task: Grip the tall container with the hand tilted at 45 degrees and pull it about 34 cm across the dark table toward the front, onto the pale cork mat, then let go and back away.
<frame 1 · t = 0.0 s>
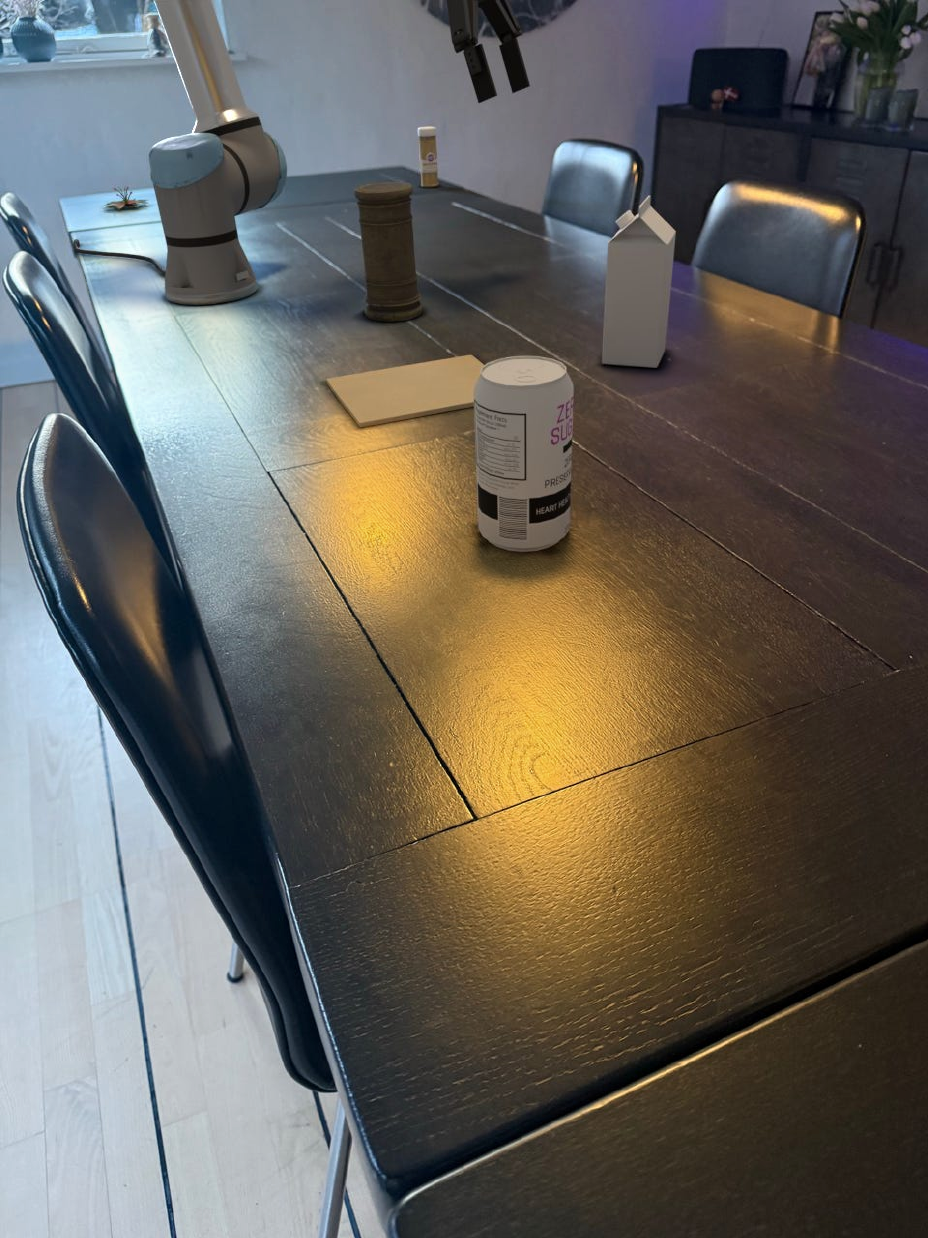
hand: (505, 94, 130), 28 cm above the table, tool tilted 20°, fingers open, 13 cm apart
mat: (420, 390, 111), on the table
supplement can: (524, 534, 81), on the table
container: (394, 314, 139), on the table
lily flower: (127, 207, 223), on the table
milk carton: (633, 359, 118), on the table
sprinkles bottle: (430, 187, 230), on the table
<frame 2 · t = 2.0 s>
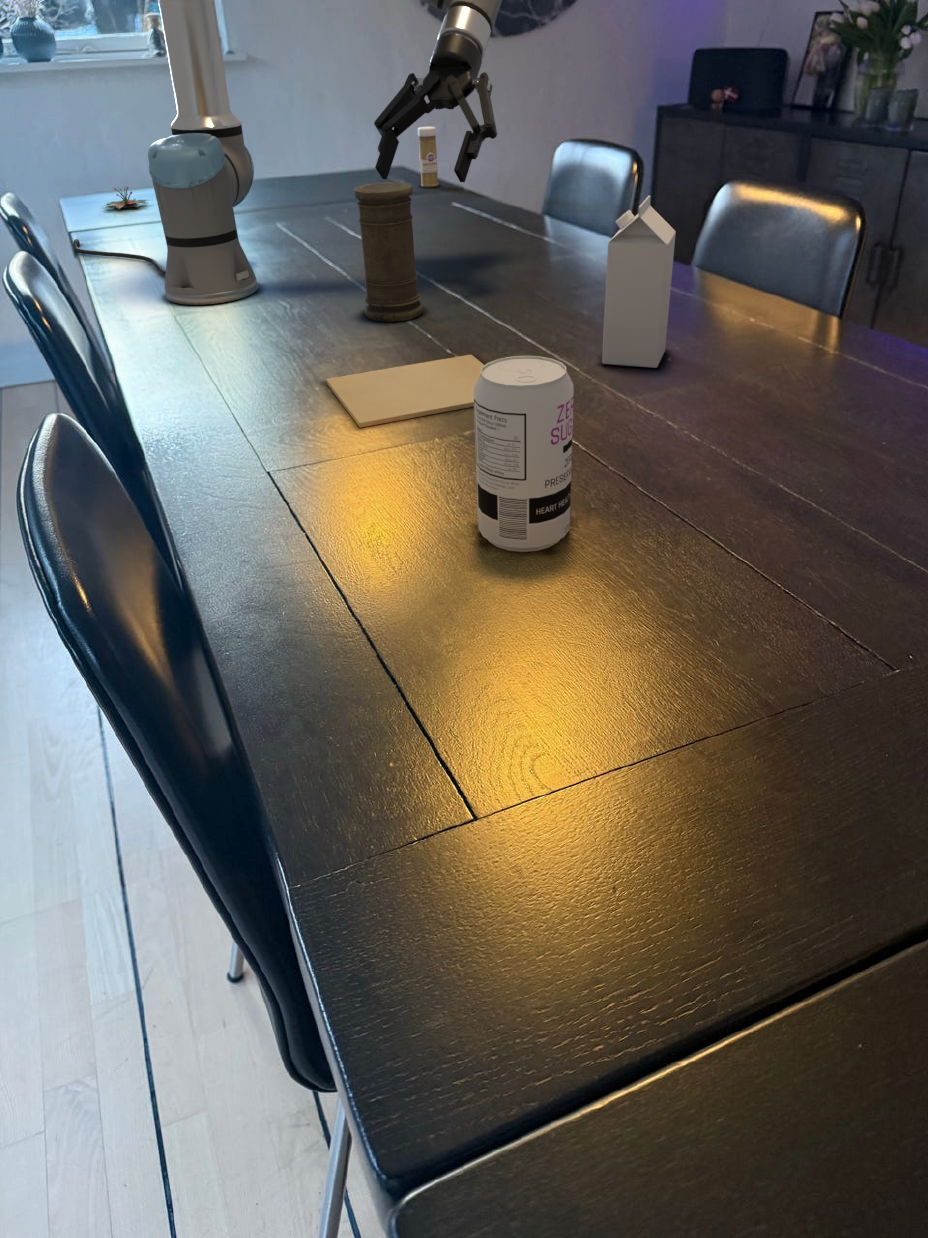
hand: (419, 174, 136), 18 cm above the table, tool tilted 45°, fingers open, 13 cm apart
nothing on the table moved.
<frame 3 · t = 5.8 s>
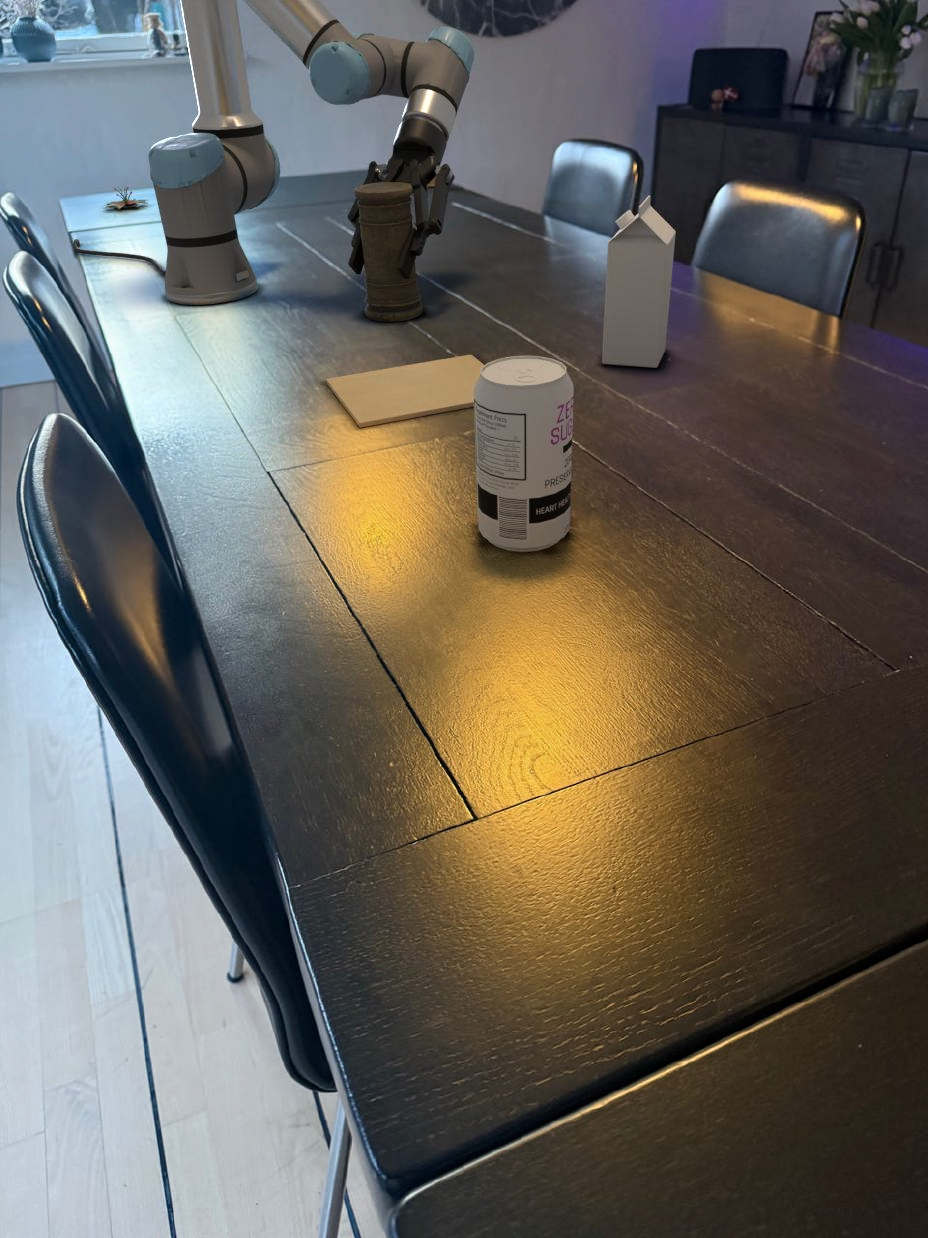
hand: (378, 271, 132), 7 cm above the table, tool tilted 45°, fingers closed on container, 8 cm apart
container: (394, 314, 139), on the table, touching gripper
everything else where it was.
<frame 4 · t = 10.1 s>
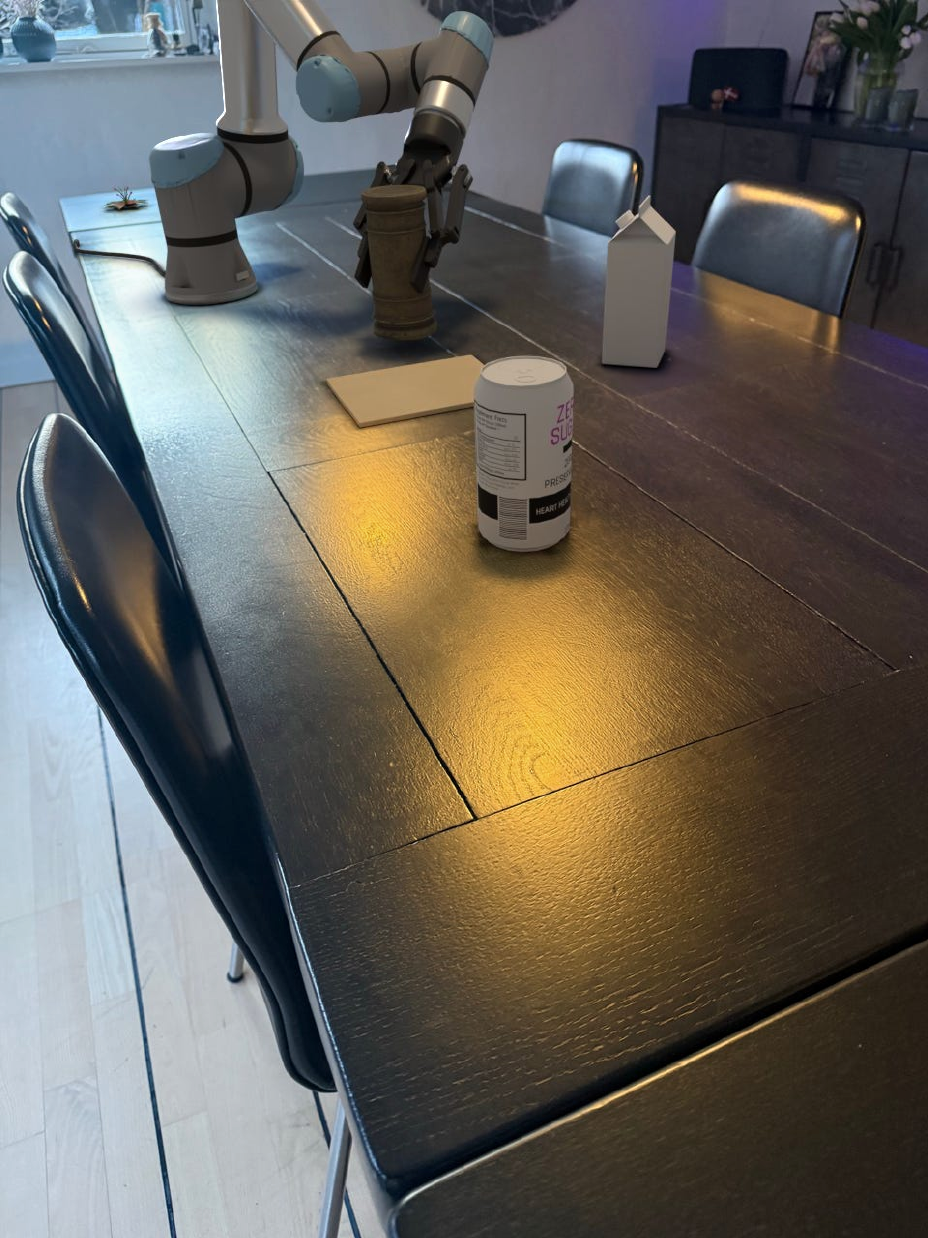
hand: (388, 284, 118), 9 cm above the table, tool tilted 45°, fingers closed on container, 8 cm apart
container: (405, 332, 124), point 2 cm above the table, touching gripper
everything else where it was.
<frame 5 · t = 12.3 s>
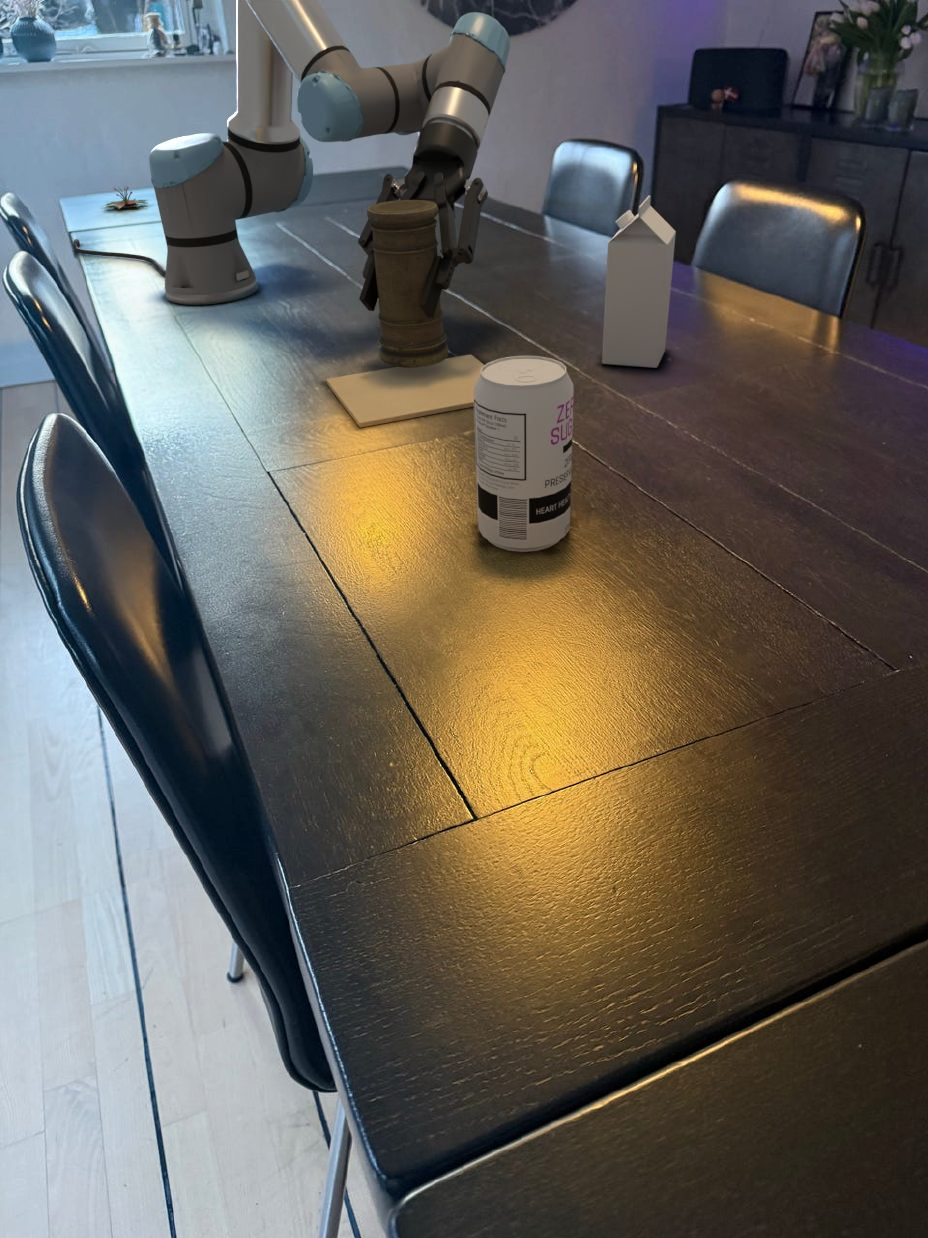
hand: (396, 307, 109), 9 cm above the table, tool tilted 45°, fingers closed on container, 8 cm apart
container: (414, 358, 115), point 2 cm above the table, touching gripper
everything else where it was.
when the fingers open (8 cm above the table, at t = 14.5 s): container stays where it is, resting on mat.
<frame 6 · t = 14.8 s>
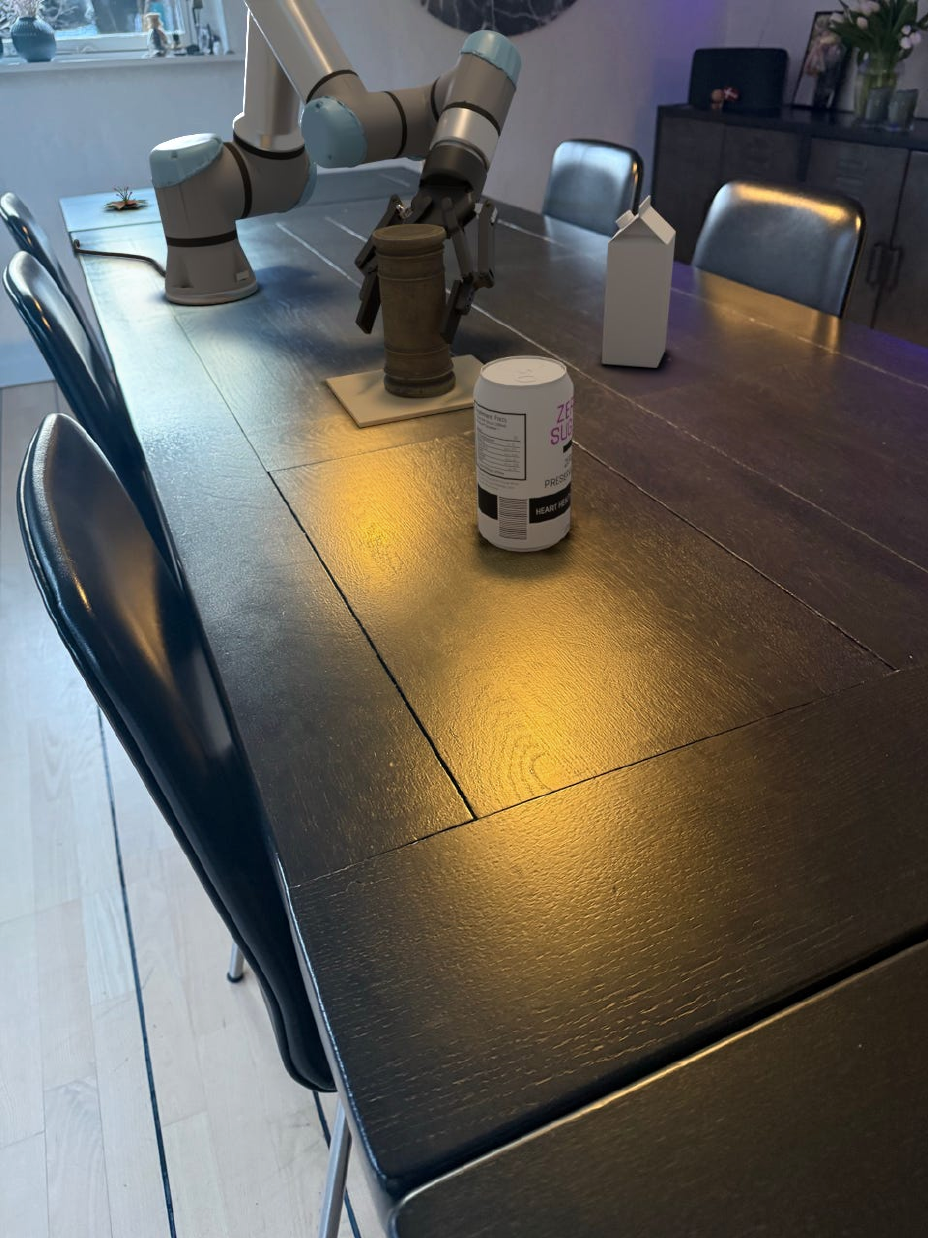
hand: (403, 333, 104), 8 cm above the table, tool tilted 45°, fingers open, 10 cm apart
container: (420, 387, 111), resting on mat
everything else where it was.
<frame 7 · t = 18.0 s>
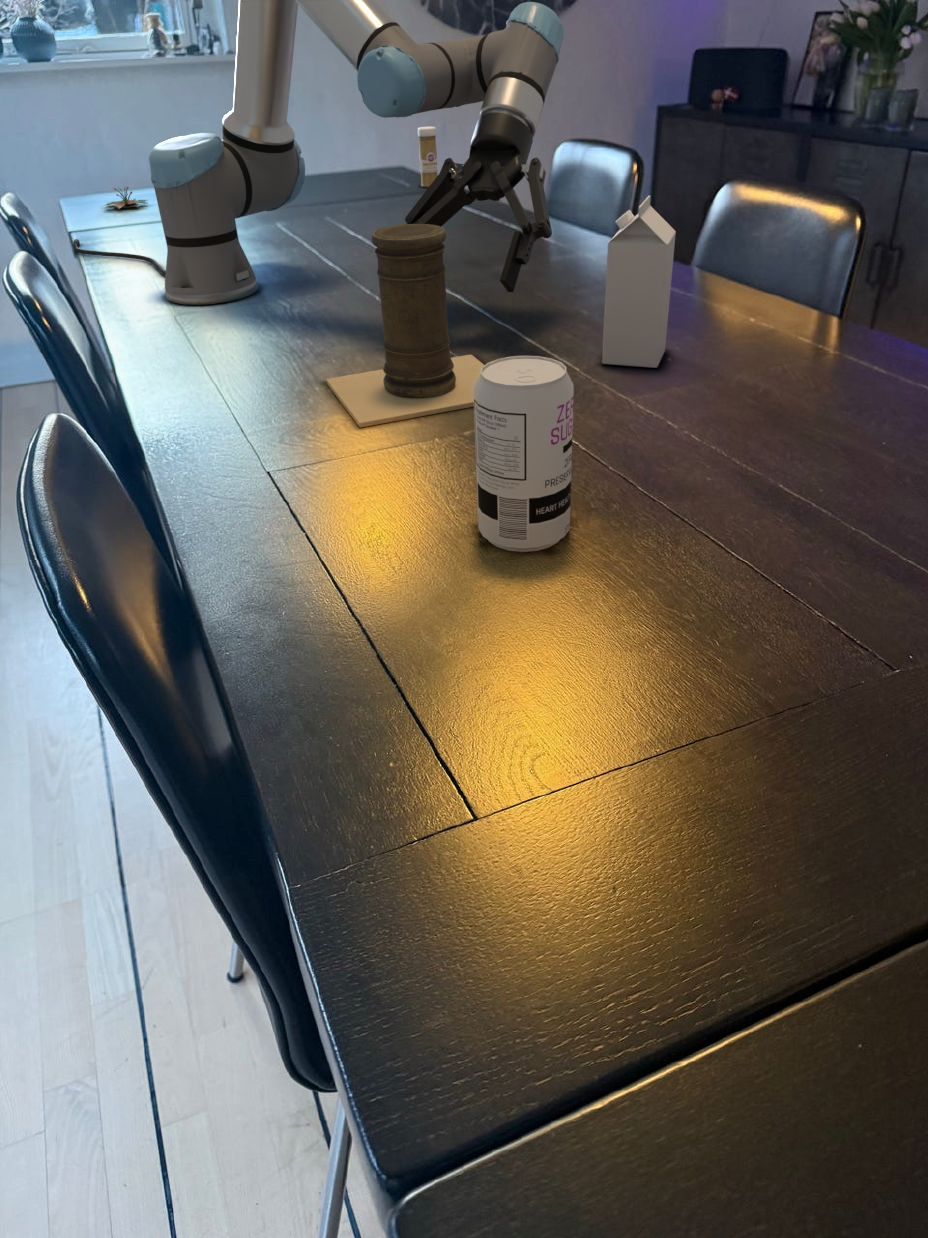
hand: (458, 283, 113), 10 cm above the table, tool tilted 45°, fingers open, 13 cm apart
nothing on the table moved.
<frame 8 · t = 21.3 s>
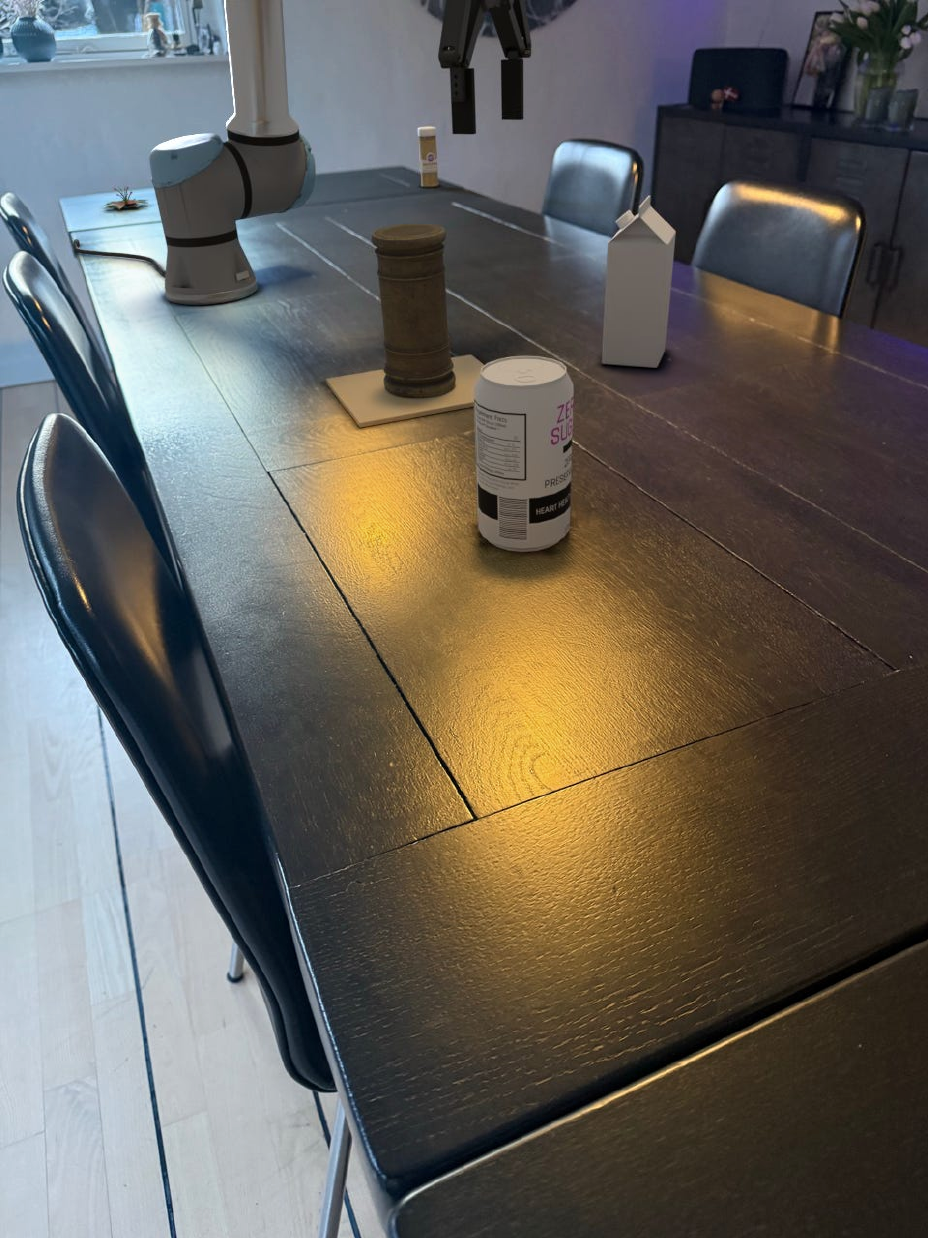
hand: (489, 126, 109), 27 cm above the table, tool pointing down, fingers open, 13 cm apart
nothing on the table moved.
at the end: container inside the target area on the mat (0.1 cm from its centre), point 0.4 cm above the mat's base; container tilted 0°; container moved 33.7 cm from its start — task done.
